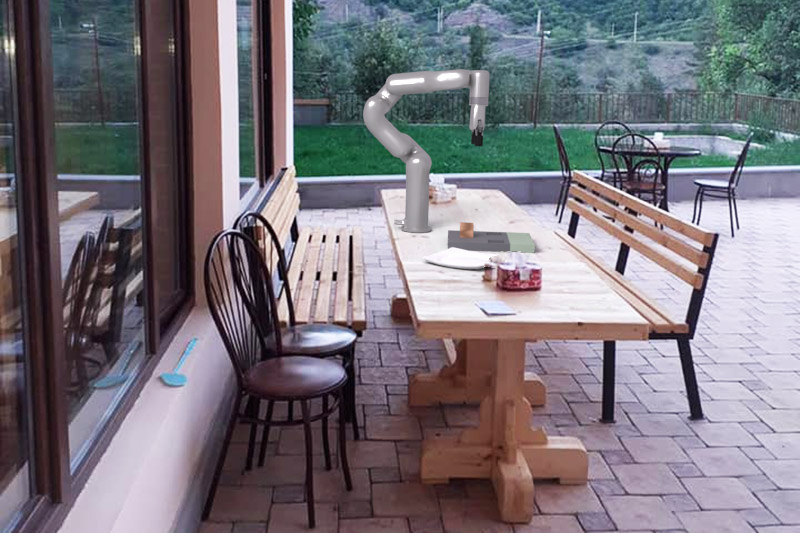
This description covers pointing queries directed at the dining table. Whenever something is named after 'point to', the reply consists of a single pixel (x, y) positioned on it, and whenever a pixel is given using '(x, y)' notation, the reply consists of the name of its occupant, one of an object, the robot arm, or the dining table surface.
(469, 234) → the terracotta block
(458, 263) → the plate
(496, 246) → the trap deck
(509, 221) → the dining table surface
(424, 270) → the dining table surface
